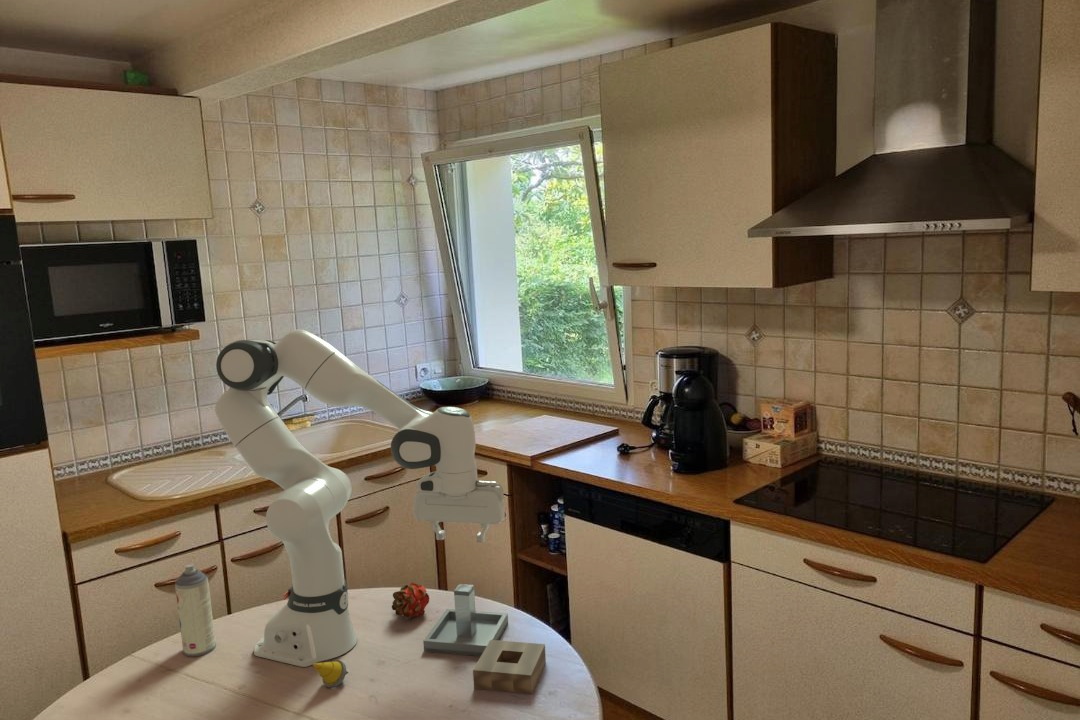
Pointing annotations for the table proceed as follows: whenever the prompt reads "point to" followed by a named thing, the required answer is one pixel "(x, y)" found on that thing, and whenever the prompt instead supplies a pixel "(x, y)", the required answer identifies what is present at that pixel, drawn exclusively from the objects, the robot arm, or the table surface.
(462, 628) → the metal pin
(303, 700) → the table surface
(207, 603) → the aerosol can
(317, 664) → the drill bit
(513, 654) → the hitch block
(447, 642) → the tray
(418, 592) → the dragon fruit
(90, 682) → the table surface
